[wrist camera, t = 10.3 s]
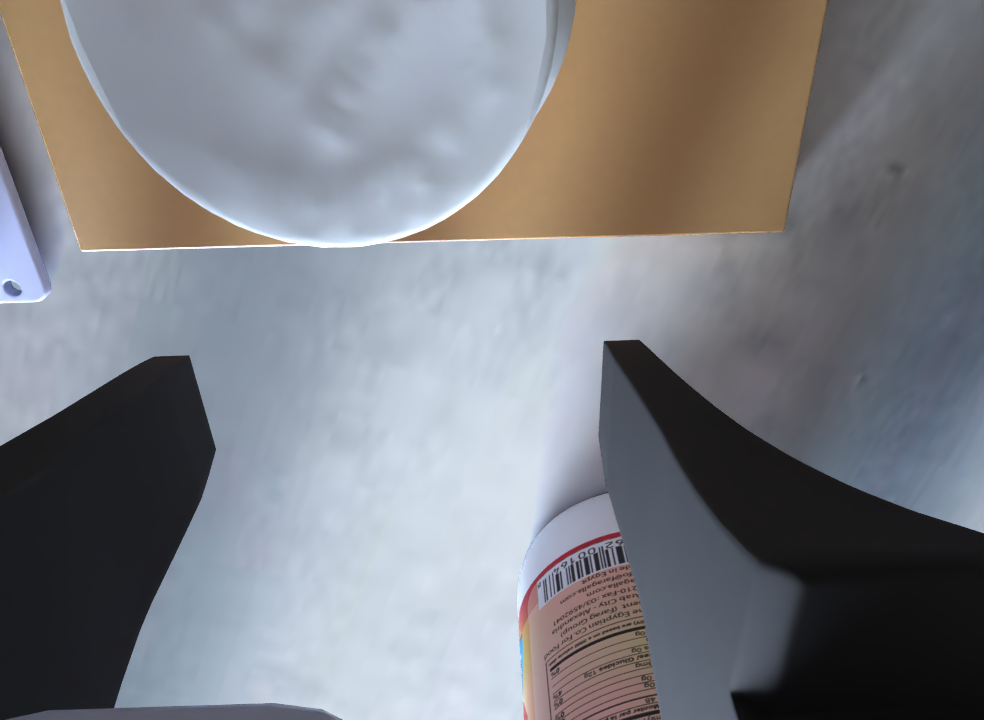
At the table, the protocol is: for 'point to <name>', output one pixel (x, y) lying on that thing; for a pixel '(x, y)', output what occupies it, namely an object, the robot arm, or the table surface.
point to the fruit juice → (583, 623)
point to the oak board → (545, 148)
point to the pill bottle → (324, 103)
